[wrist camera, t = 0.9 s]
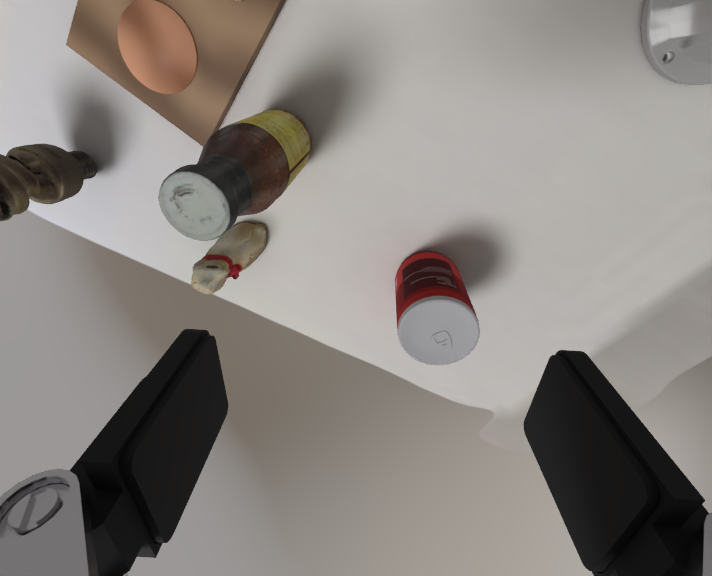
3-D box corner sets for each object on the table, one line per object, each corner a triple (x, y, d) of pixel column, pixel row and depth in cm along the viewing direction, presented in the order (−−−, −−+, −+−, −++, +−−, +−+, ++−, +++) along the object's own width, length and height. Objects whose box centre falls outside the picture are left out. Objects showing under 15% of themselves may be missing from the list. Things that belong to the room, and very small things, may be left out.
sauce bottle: (255, 101, 34) (126, 119, 17) (318, 117, 35) (253, 150, 17) (251, 169, 38) (139, 241, 20) (308, 182, 38) (245, 265, 21)
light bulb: (63, 175, 39) (-95, 221, 26) (58, 125, 37) (-119, 148, 24) (114, 193, 40) (-15, 246, 27) (113, 145, 37) (-31, 177, 24)
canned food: (425, 316, 45) (436, 378, 36) (381, 279, 43) (380, 334, 34) (473, 279, 42) (499, 335, 33) (427, 236, 40) (440, 283, 30)
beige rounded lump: (201, 229, 42) (153, 267, 33) (263, 218, 40) (230, 255, 32) (219, 270, 44) (179, 315, 36) (278, 261, 43) (251, 306, 34)
